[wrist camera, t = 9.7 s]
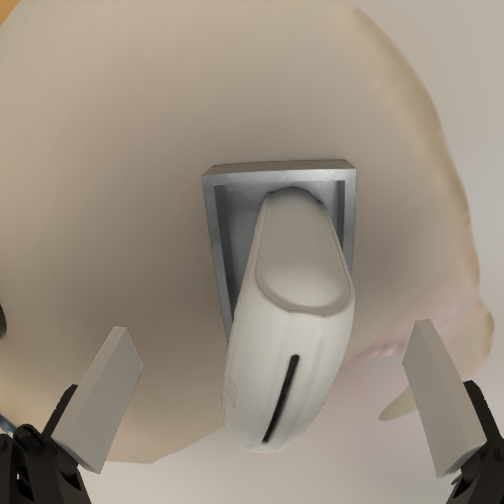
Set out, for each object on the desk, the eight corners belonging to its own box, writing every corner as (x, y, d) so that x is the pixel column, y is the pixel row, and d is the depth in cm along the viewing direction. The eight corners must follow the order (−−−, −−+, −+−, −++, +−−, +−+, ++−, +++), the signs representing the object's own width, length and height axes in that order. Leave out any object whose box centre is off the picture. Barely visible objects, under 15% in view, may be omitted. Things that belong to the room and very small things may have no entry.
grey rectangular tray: (235, 330, 24) (229, 356, 22) (213, 165, 19) (201, 176, 16) (336, 328, 23) (341, 355, 21) (345, 159, 18) (355, 169, 15)
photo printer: (297, 323, 23) (297, 476, 12) (241, 314, 23) (210, 465, 12) (331, 193, 18) (393, 328, 7) (262, 180, 18) (225, 304, 7)
